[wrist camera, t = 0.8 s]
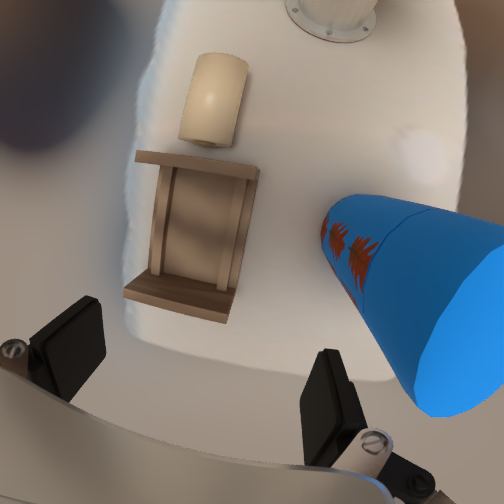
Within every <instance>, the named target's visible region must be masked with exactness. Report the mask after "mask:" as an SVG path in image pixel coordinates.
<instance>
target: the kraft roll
mask: <svg viewBox="0 0 504 504" xmlns="http://www.w3.org/2000/svg"><path fill="white" fill-rule="evenodd" d="M248 68H249V66H248V64H247V63H246V62H245V61H244V60H242V59H240V58H238V57H236V56H233V55H229V54H223V53H206V54H203V55H200V56H199V57H198V59H197V63H196V66H195V70H194V73H193V77H192V80H191V84H190V88H189V92H188V96H187V100H186V104H185V108H184V112H183V117H182V121H181V126H180V130H179V135H178V139H181V140H184V141H188V142H193V144H194V145H199V146H204V147H214V146H220V147H231V144H232V139H233V134H234V129H235V125H236V120H237V116H238V111H239V107H240V102H241V98H242V93H243V89H244V85H245V81H246V76H247V72H248Z"/></svg>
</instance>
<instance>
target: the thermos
mask: <svg viewBox="0 0 504 504" xmlns="http://www.w3.org/2000/svg"><path fill="white" fill-rule="evenodd" d="M321 241H322V249H323V251H324V253H325V255H326V257H327V259H328V261H329V263H330V265H331V267H332V269H333V271H334V273H335V275H336V276H337V278H338V279H339V281H340V282H341V284H342V285H343V287H344V289H345V290H346V292H347V293H348V295H349V297H350V298H351V300H352V301H353V303H354V305H355V306H356V308H357V309H358V311H359V313H360V314H361V316H362V318H363V319H364V321H365V323H366V324H367V326H368V328H369V329H370V331H371V332H372V334H373V336H374V338H375V339H376V341H377V343H378V344H379V346H380V348H381V350H382V351H383V353H384V355H385V357H386V358H387V360H388V362H389V364H390V366H391V367H392V369H393V371H394V373H395V375H396V376H397V378H398V380H399V382H400V384H401V386H402V387H403V389H404V390H405V392H406V393H407V394H408V395H409V397H410V398H411V399H412V401H413V402H414V403H415V404H416V406H417V407H418V408H419V409H420V410H422V411H423V412H425V413H426V414H427V415H429V416H430V417H451V416H454V415H457V414H459V413H462V412H465V411H468V410H470V409H472V408H473V407H475V406H476V405H478V404H479V403H481V402H482V401H484V400H485V399H487V398H488V397H490V396H491V395H492V394H493V393H494V392H495V391H496V390H497V389H498V388H499V387H500V386H501V385H502V384H503V383H504V226H501V225H498V224H495V223H492V222H488V221H485V220H482V219H478V218H474V217H471V216H467V215H463V214H460V213H456V212H452V211H448V210H444V209H440V208H436V207H432V206H427V205H423V204H418V203H414V202H409V201H404V200H400V199H395V198H390V197H384V196H376V195H353V196H350V197H347V198H344V199H342V200H341V201H339V202H338V203H337V204H336V205H334V206H333V207H332V208H331V210H330V211H329V213H328V214H327V216H326V218H325V219H324V222H323V227H322V231H321Z"/></svg>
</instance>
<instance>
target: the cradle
mask: <svg viewBox="0 0 504 504" xmlns="http://www.w3.org/2000/svg"><path fill="white" fill-rule="evenodd" d="M135 162H140V163H149V164H157V165H160V171H159V177H158V183H157V190H156V197H155V204H154V212H153V220H152V229H151V238H150V249H149V261H148V269H146V270H145V271H144V272H143V273H141V274H140V275H139V276H138V277H136V278H135V279H134V280H133V281H131V282H130V283H129V284H128V285H126V286H125V287H124V288H123V297H124V298H127V299H131V300H134V301H137V302H141V303H144V304H148V305H151V306H155V307H159V308H162V309H166V310H170V311H173V312H177V313H181V314H185V315H189V316H193V317H197V318H201V319H206V320H210V321H214V322H219V323H223V324H226V323H227V320H228V316H229V313H230V310H231V306H232V303H233V299H234V296H235V292H236V287H237V282H238V277H239V272H240V266H241V261H242V256H243V251H244V246H245V241H246V236H247V231H248V226H249V221H250V216H251V211H252V206H253V201H254V196H255V191H256V186H257V181H258V176H259V171H260V170H259V169H258V168H257V167H252V166H247V165H242V164H236V163H230V162H224V161H218V160H212V159H206V158H199V157H192V156H185V155H177V154H169V153H160V152H151V151H141V150H137V151H136V157H135Z"/></svg>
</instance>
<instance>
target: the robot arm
mask: <svg viewBox="0 0 504 504" xmlns="http://www.w3.org/2000/svg"><path fill="white" fill-rule="evenodd" d="M377 1H378V0H286V8H287V11H288V13H289V15H290V16H291V18H292V19H293V20H294V22H295V23H296V24H297V25H299V26H300V27H301V28H302V29H304V30H305V31H307V32H309V33H310V34H312V35H315V36H317V37H319V38H322V39H326V40H329V41H334V42H346V43H347V42H355V41H359V40H362V39H364V38H365V37H367V36H368V35H369V34H370V33H371V32H372V31H373V29H374V28H375V25H376V13H375V10H374V6H375V5H376V3H377ZM29 340H30V344H29V345H27V344H26V342H24V341H23V340H20V339H10V340H7V341H6V342H4V343H3V344H2V345H1V346H0V504H456V503H454V502H453V501H452V500H451V499H450V498H449V497H448V496H446V494H445V493H443V492H442V491H441V490H439V491H438V492H437V491H436V490H435V480H434V477H433V476H432V474H431V473H429V472H428V471H426V470H425V469H422V468H421V467H419V466H417V465H415V464H413V463H411V462H409V461H408V460H406V459H404V458H402V457H401V456H399V455H397V454H395V453H394V452H392V450H393V441H392V439H391V437H390V436H389V435H388V434H387V433H386V432H384V431H382V430H380V429H377V428H368V426H367V423H366V420H365V417H364V414H363V410H362V407H361V405H360V401H359V398H358V395H357V392H356V389H355V386H354V384H353V382H351V381H349V379H348V376H347V373H346V370H345V367H344V364H343V361H342V358H341V355H340V352H339V350H335V349H326V348H325V349H324V350H323V352H322V351H319V353H318V355H317V357H316V360H315V363H314V365H313V368H312V370H311V373H310V375H309V378H308V380H307V383H306V385H305V388H304V390H303V392H302V395H301V397H300V414H301V425H302V438H303V450H304V464H305V466H303V465H289V464H277V463H268V462H260V461H252V460H244V459H238V458H232V457H226V456H220V455H216V454H211V453H206V452H201V451H197V450H193V449H189V448H185V447H181V446H178V445H174V444H170V443H167V442H164V441H160V440H157V439H154V438H151V437H148V436H145V435H142V434H139V433H136V432H133V431H131V430H128V429H125V428H123V427H120V426H118V425H115V424H113V423H110V422H108V421H106V420H103V419H101V418H98V417H96V416H94V415H92V414H90V413H88V412H86V411H84V410H81V409H80V408H77V407H75V406H74V405H72V404H70V403H69V402H70V401H71V400H72V398H73V397H74V396H75V394H76V393H77V392H78V391H79V389H80V388H81V387H82V385H83V384H84V383H85V382H86V381H87V379H88V378H89V377H90V376H91V374H92V373H93V372H94V371H95V369H96V368H97V367H98V366H99V364H100V363H101V362H102V361H103V360H104V358H105V356H106V346H105V339H104V329H103V320H102V308H101V304H100V303H99V301H98V299H96V298H93V297H90V296H84V297H83V298H81V299H80V300H78V301H77V302H76V303H74V304H73V305H72V306H70V307H69V308H68V309H66V310H65V311H64V312H63V313H61V314H60V315H59V316H57V317H56V318H55V319H53V320H52V321H51V322H50V323H48V324H47V325H46V326H45V327H43V328H42V329H41V330H40V331H38V332H37V333H36V334H35V335H33V336H32V337H31V338H30V339H29Z"/></svg>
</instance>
